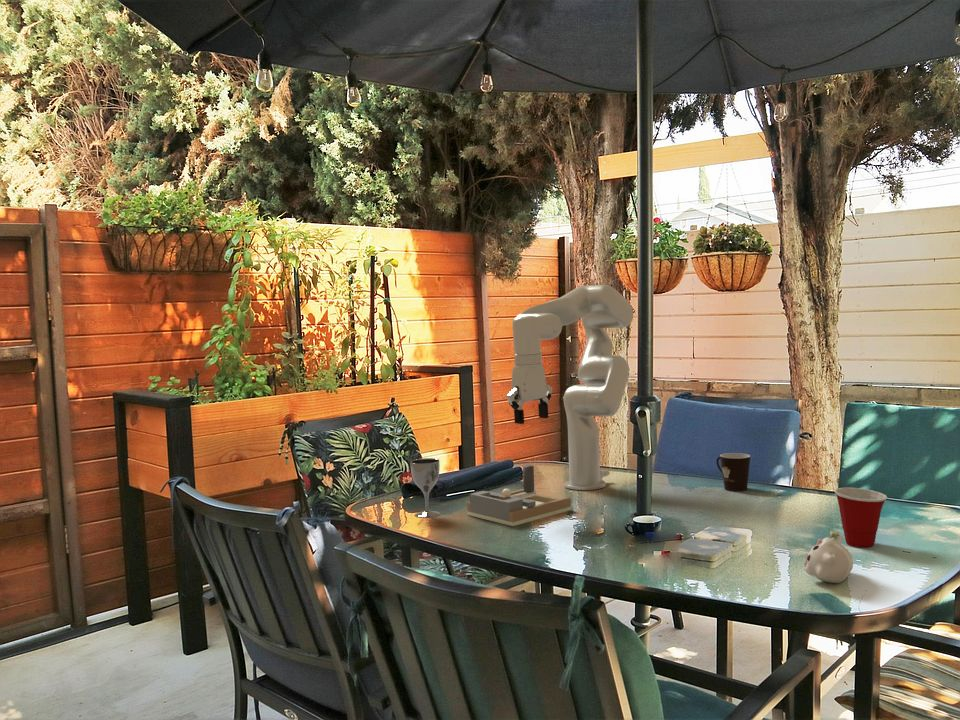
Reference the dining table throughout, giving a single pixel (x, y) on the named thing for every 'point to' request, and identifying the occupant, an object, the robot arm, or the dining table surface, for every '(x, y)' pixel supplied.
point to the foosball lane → (515, 508)
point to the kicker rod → (528, 488)
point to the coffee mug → (734, 471)
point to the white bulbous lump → (829, 560)
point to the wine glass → (425, 480)
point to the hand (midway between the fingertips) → (531, 420)
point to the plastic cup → (860, 514)
